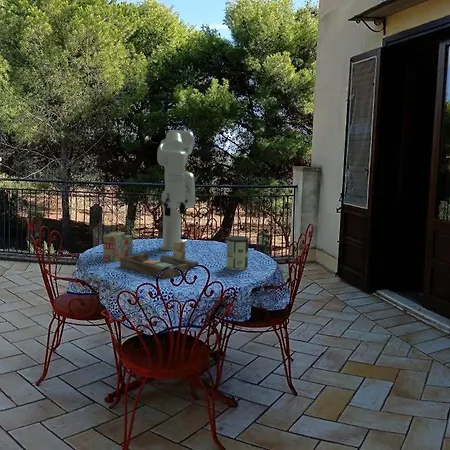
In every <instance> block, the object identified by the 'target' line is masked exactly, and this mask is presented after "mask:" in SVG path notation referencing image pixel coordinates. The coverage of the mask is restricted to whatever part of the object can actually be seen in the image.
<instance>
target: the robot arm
mask: <svg viewBox="0 0 450 450" xmlns="http://www.w3.org/2000/svg"><path fill="white" fill-rule="evenodd" d="M194 145H195V136H194V133H193V132H192V131H191V130H179V129H178V130H176V129H174V130H170V131H168V132H167V133H166V134H165V138H164V139H161V141H160V144H159V146H158V147H157V152H156V153H157V154H156V155H157V156H156V157H157V158H156V160H157V163H158V164H159V165H160V166H163V167H164V185H165V186H164V191H163V192H162V194H161V198H160V201H161V204H162V214H163V215H162V216H163V217H162V244H161V245H159V249H160V250H162V251H163V250H164V251H170V252H173V242H175V241H183V242H186V243H188V242H187V239H182V238H181V233H182V231H181V230H182V215H185V214H186V209H192V208H194V207H195V203H196V187H195V186H196V185H195V184H196V182H195V176H194V174H193V173H192V172H190V171H185V165H187V163H188V158H189V155H191V154H192V153H193V149H194ZM177 209H179V211H178V210H177Z"/></svg>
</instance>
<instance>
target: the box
mask: <svg viewBox="0 0 450 450" xmlns="http://www.w3.org/2000/svg"><path fill="white" fill-rule="evenodd" d="M148 257H149V254H148V253H146V252H145V253H139V254H136V255H127V256H125V257H123V258H120V260H119V264H120V265H119V266H120V268H124V269H127V270H130V271H135V272H138V273H141V274H145V275H147V276H152V277H154V278H158V277H157V275H158V273H159V272H160V271H162V270H163V268H159V267H155V266H152V265H148V264H144V263H143V261H148V259H149V258H148ZM169 268H177V269H179V270H181V271H182V272H183V273H184V272H185V271H186V270H187V269H189V270H190V268H189V264H183V265H175V266H174V265H173V267H169ZM179 274H180V272H179V271H178V270H176V269H166V270H164V271H163V272H162V273H161V274H160V276H159V278H158V279H162V280H166V279H169V277H170V278H173V277H172V276H174V277H177V276H176V275H178V276H180V275H179Z"/></svg>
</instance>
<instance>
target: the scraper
mask: <svg viewBox="0 0 450 450" xmlns="http://www.w3.org/2000/svg"><path fill="white" fill-rule="evenodd" d="M186 244H187V242H183V241H175V242H173V251H172V255H170V254H166V253H164V254H160V261H161V262H163V263H164V262H165V263H168V264H172V265H175V266H178V265H183V264H189V269H191V268H190V267H192V266H194V265H198V266H199V262H198V261H194V260H191V259H186Z"/></svg>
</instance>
